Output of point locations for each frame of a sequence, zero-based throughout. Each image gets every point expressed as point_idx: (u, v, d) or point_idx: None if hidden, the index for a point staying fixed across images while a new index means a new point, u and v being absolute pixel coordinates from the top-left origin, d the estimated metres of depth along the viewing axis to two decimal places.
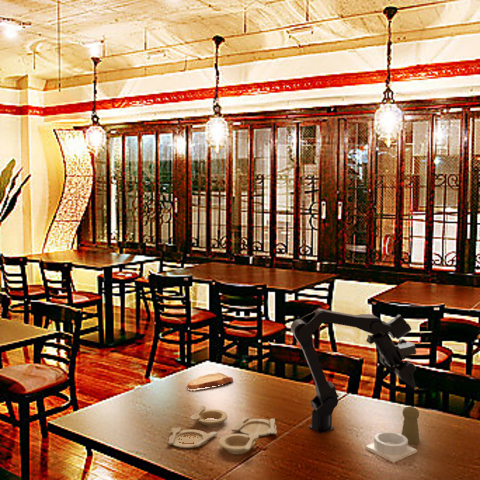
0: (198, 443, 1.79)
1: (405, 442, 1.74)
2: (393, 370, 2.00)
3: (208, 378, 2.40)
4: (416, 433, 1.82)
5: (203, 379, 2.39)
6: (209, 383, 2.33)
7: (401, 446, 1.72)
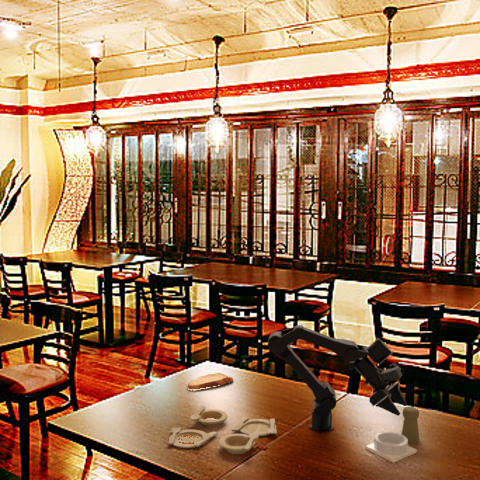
0: (198, 443, 1.79)
1: (405, 442, 1.74)
2: (393, 397, 1.91)
3: (208, 378, 2.40)
4: (416, 433, 1.82)
5: (203, 379, 2.39)
6: (209, 383, 2.33)
7: (401, 446, 1.72)
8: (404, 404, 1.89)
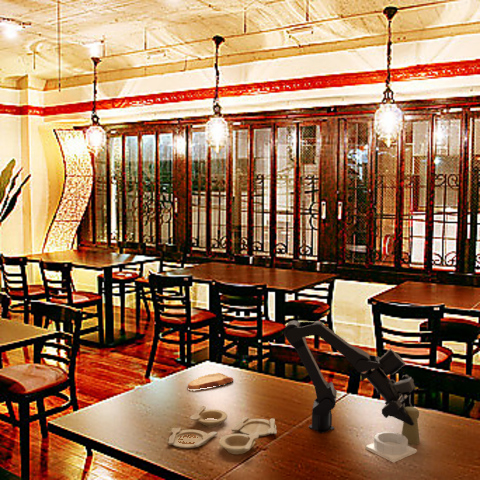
0: (198, 443, 1.79)
1: (405, 442, 1.74)
2: None
3: (208, 378, 2.40)
4: (416, 433, 1.82)
5: (203, 379, 2.39)
6: (209, 383, 2.33)
7: (401, 446, 1.72)
8: None
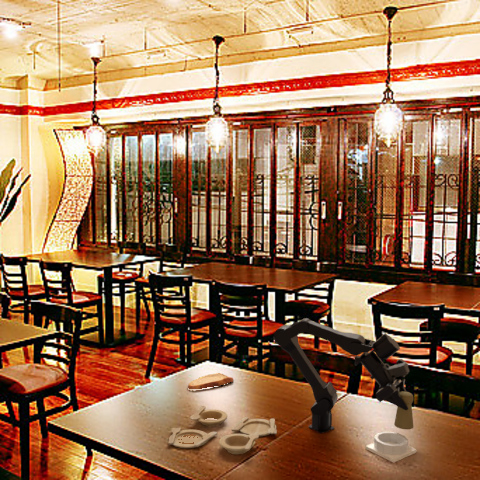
0: (198, 443, 1.79)
1: (405, 442, 1.74)
2: None
3: (208, 378, 2.40)
4: (410, 418, 1.79)
5: (203, 379, 2.39)
6: (210, 384, 2.32)
7: (401, 446, 1.72)
8: None
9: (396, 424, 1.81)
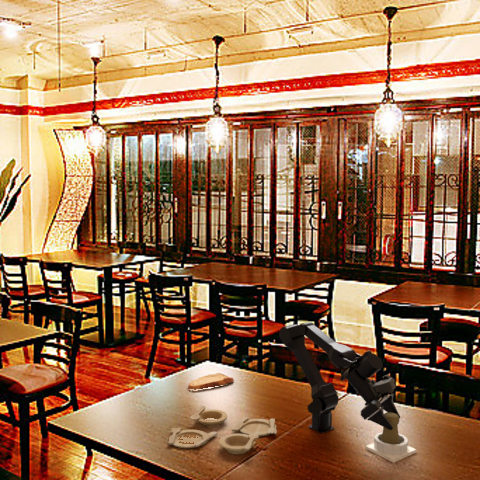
0: (198, 443, 1.79)
1: (405, 442, 1.74)
2: (386, 409, 1.81)
3: (209, 379, 2.39)
4: (396, 440, 1.74)
5: (204, 380, 2.38)
6: (210, 384, 2.32)
7: (401, 446, 1.72)
8: None
9: None
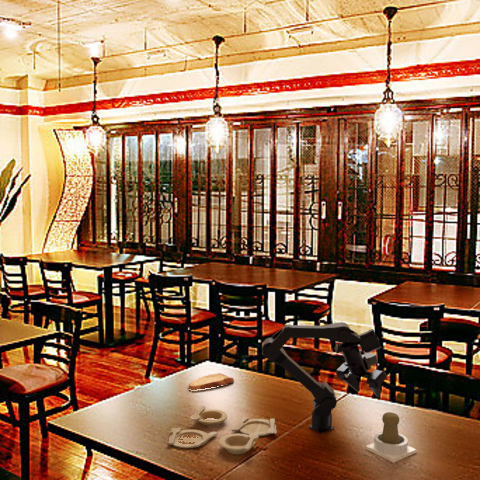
0: (198, 443, 1.79)
1: (405, 442, 1.74)
2: (351, 383, 1.97)
3: (209, 379, 2.39)
4: (396, 440, 1.74)
5: (204, 380, 2.38)
6: (210, 384, 2.32)
7: (401, 446, 1.72)
8: (358, 390, 1.99)
9: None
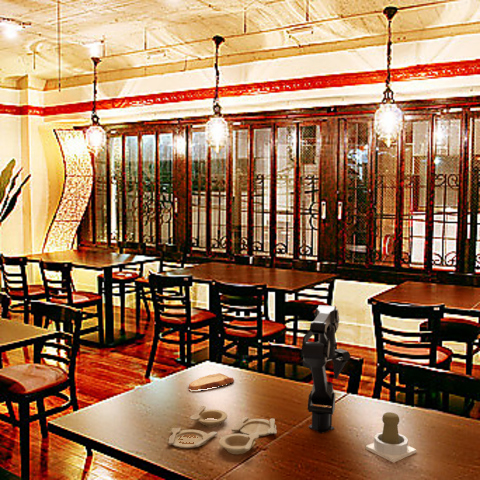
0: (198, 443, 1.79)
1: (405, 442, 1.74)
2: None
3: (209, 379, 2.39)
4: (396, 440, 1.74)
5: (204, 380, 2.38)
6: (211, 384, 2.32)
7: (401, 446, 1.72)
8: None
9: None
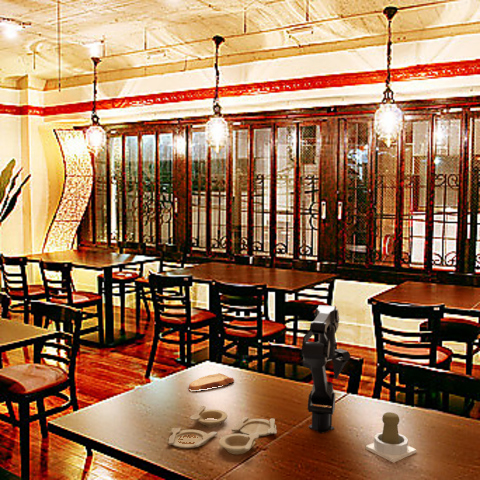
0: (198, 443, 1.79)
1: (405, 442, 1.74)
2: None
3: (209, 379, 2.39)
4: (396, 440, 1.74)
5: (204, 380, 2.38)
6: (211, 384, 2.32)
7: (401, 446, 1.72)
8: None
9: None
